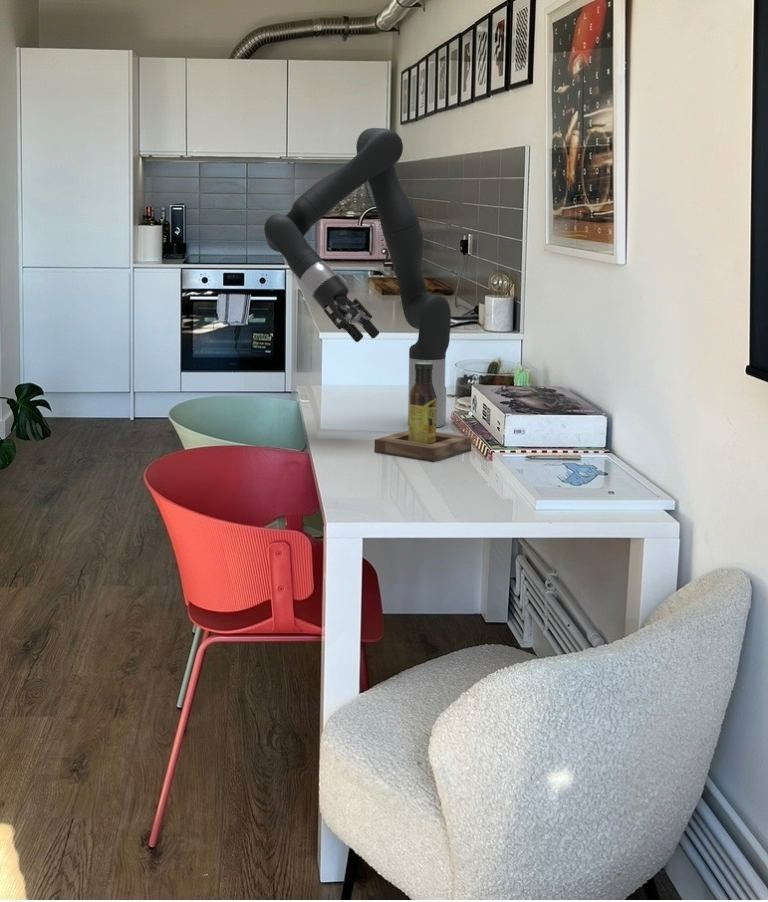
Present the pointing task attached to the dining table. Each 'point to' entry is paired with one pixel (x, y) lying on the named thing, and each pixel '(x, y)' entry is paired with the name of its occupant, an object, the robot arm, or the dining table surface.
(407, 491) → the dining table surface
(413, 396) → the sauce bottle
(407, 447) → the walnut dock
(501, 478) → the dining table surface
